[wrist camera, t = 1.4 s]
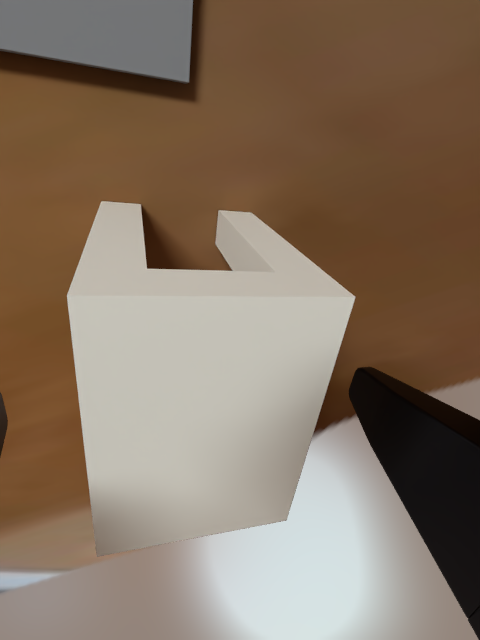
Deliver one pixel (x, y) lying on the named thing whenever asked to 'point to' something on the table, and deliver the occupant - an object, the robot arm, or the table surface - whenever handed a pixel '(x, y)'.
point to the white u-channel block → (197, 379)
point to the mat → (103, 34)
